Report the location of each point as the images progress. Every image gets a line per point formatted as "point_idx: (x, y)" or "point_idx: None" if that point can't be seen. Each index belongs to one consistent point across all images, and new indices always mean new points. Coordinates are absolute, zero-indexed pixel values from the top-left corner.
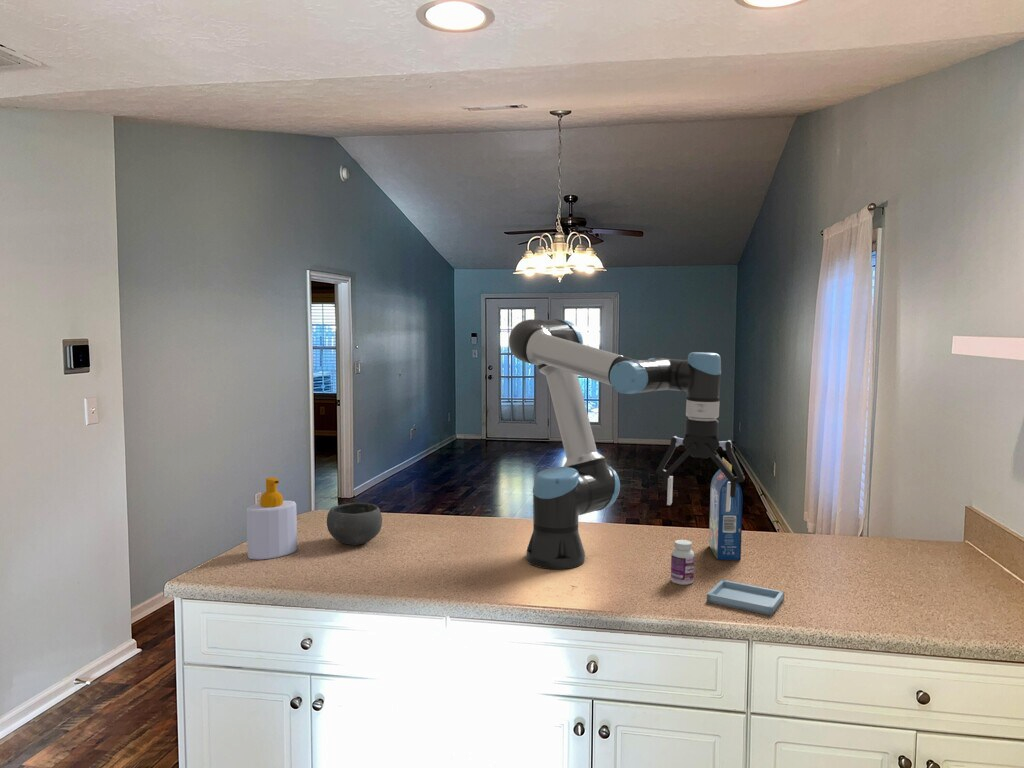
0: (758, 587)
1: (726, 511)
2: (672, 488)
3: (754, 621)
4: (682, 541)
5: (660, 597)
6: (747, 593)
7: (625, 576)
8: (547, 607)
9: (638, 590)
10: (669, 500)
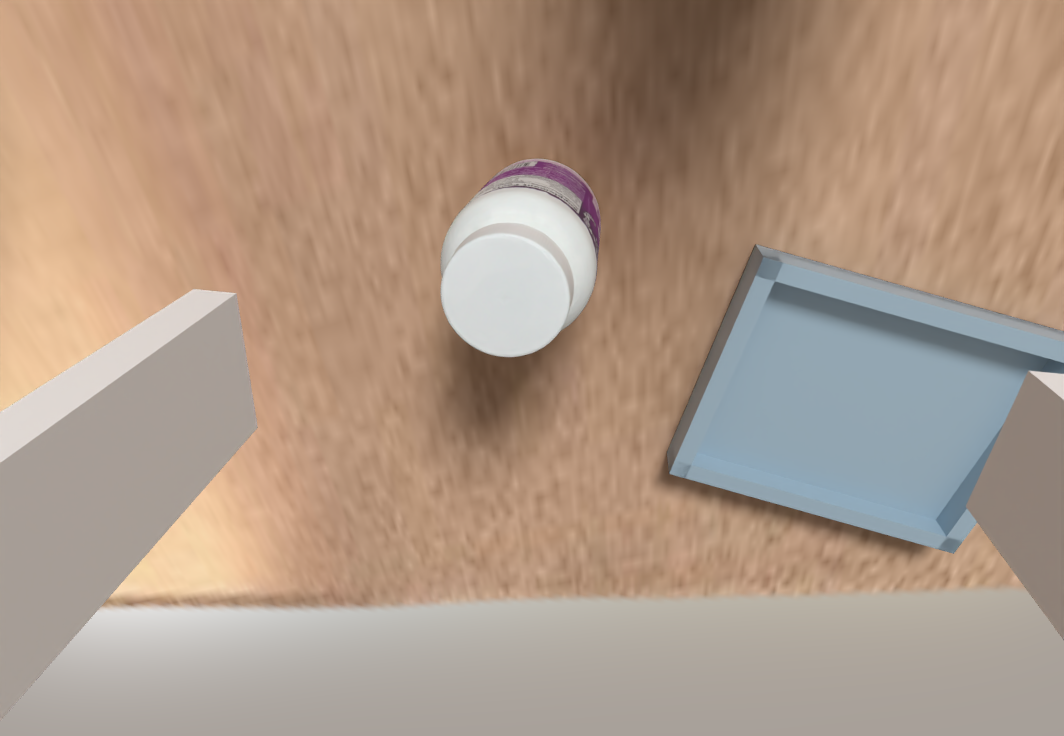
0: (963, 327)
1: (975, 507)
2: (95, 410)
3: (846, 583)
4: (496, 288)
5: (469, 447)
6: (883, 344)
7: (248, 232)
8: (139, 604)
9: (363, 396)
10: (215, 461)
